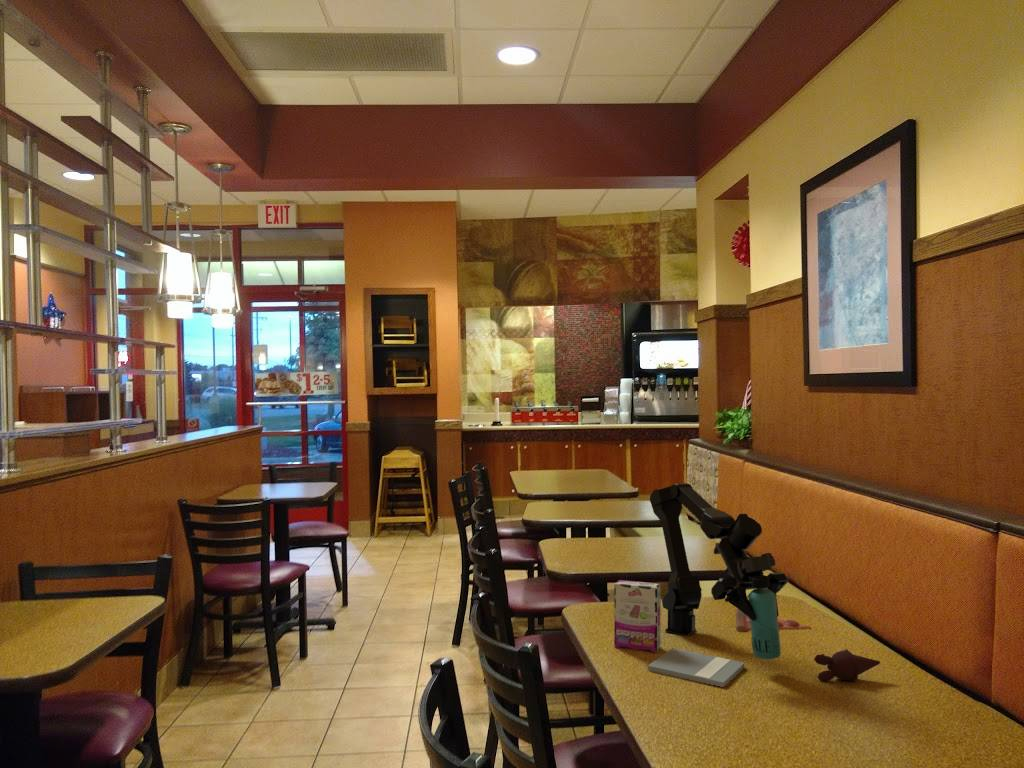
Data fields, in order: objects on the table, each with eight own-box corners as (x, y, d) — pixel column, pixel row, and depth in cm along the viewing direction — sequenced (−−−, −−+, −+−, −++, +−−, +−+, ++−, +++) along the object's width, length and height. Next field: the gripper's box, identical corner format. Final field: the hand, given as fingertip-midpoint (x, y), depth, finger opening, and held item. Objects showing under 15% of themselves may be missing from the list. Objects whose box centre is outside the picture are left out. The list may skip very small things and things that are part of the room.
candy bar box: (661, 647, 197) (661, 583, 197) (657, 653, 192) (657, 587, 192) (618, 641, 201) (618, 578, 201) (613, 647, 197) (613, 583, 197)
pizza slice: (736, 607, 229) (807, 613, 223) (736, 614, 229) (807, 621, 223) (736, 625, 211) (814, 633, 205) (735, 633, 211) (814, 641, 205)
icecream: (868, 644, 181) (806, 651, 180) (884, 647, 174) (820, 653, 173) (874, 676, 179) (812, 682, 178) (891, 679, 172) (826, 686, 171)
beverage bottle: (780, 654, 182) (773, 571, 182) (784, 666, 176) (776, 580, 175) (751, 654, 184) (744, 572, 183) (754, 666, 177) (747, 581, 176)
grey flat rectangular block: (647, 670, 181) (648, 664, 181) (672, 652, 193) (672, 647, 193) (723, 687, 170) (723, 681, 170) (744, 667, 183) (744, 662, 183)
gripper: (719, 543, 179) (749, 604, 169) (783, 538, 186) (816, 596, 176) (698, 569, 187) (726, 629, 177) (761, 564, 194) (791, 620, 183)
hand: (766, 618), depth 178 cm, fingers closed on beverage bottle, 6 cm apart
